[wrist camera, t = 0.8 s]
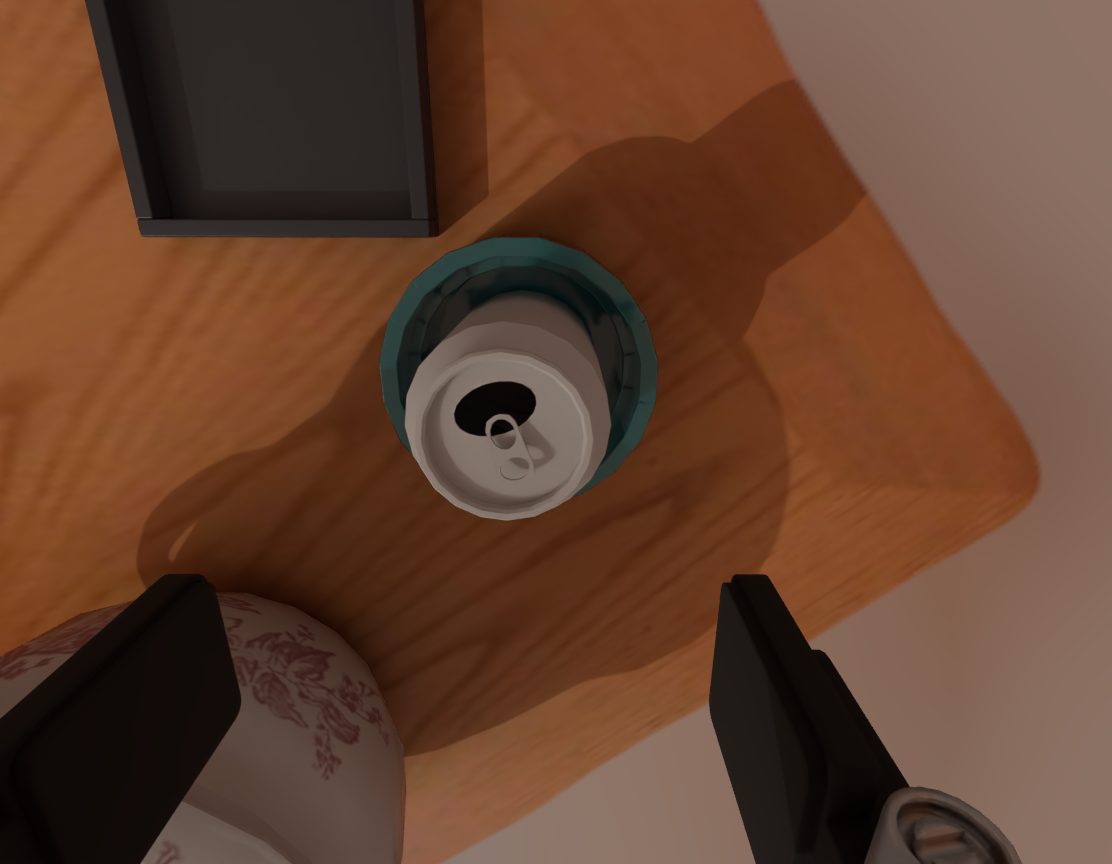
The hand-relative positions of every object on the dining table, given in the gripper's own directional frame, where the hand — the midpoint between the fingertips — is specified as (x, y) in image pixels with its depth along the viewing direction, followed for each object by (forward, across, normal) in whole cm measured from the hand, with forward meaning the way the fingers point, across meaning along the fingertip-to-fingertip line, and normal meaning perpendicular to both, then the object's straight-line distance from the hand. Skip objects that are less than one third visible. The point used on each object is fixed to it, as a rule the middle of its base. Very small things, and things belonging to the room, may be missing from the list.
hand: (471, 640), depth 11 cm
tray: (+22, +11, -14) cm, 28 cm away
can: (+22, 0, -1) cm, 22 cm away
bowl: (+22, 0, -1) cm, 22 cm away
